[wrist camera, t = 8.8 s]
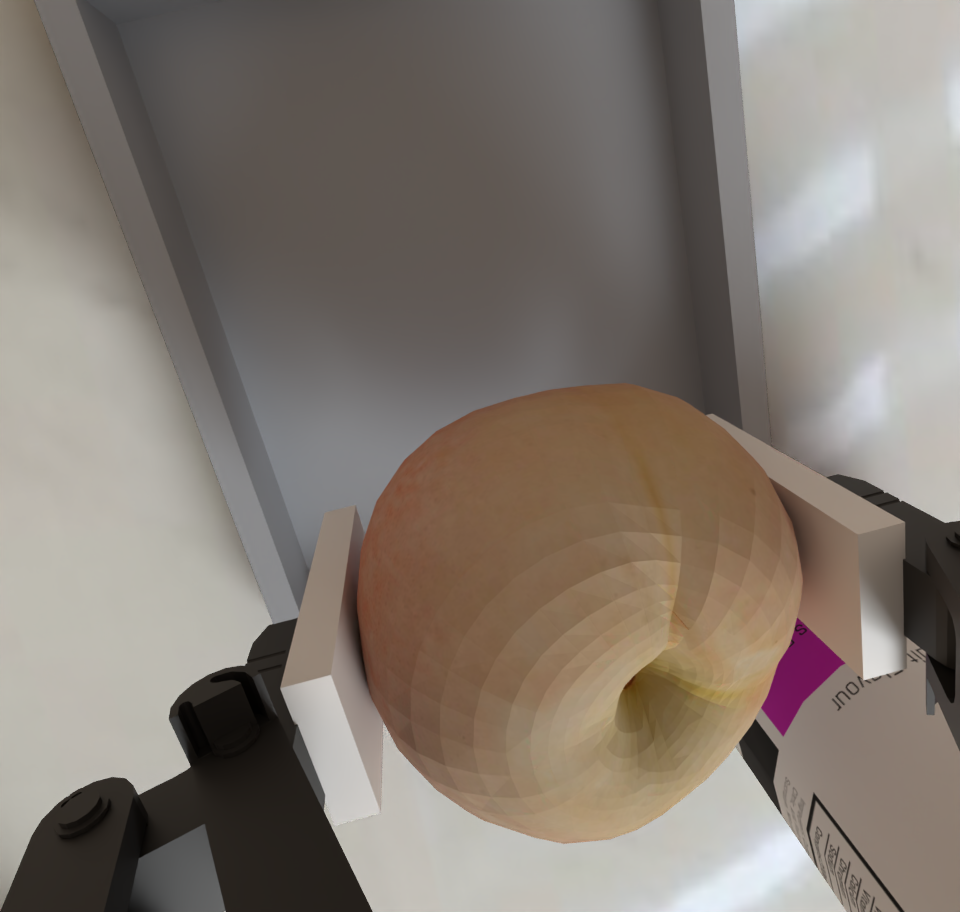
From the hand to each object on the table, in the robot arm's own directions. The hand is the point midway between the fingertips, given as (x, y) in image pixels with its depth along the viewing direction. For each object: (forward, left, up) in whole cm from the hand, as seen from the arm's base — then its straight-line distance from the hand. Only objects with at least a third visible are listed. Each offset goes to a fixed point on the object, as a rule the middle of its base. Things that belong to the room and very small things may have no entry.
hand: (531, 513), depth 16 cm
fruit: (0, 0, 0) cm, 0 cm away
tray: (0, +4, -5) cm, 7 cm away
